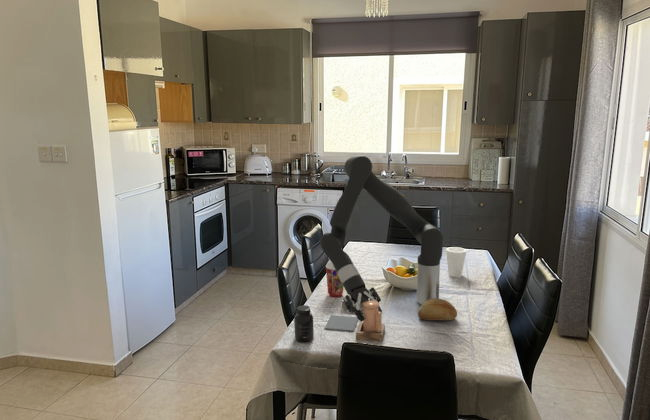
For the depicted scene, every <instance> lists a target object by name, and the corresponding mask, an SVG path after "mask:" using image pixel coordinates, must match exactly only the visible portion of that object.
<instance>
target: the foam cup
mask: <svg viewBox="0 0 650 420" xmlns="http://www.w3.org/2000/svg"><path fill="white" fill-rule="evenodd" d="M445 254H446V263H447V273H448V276H450V277H452V278H460V277H462V275H463V271H464V266H465V265H464V264H465V259H466V256H467V250H466V248H463V247H458V246H451V247H446V249H445Z"/></svg>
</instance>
